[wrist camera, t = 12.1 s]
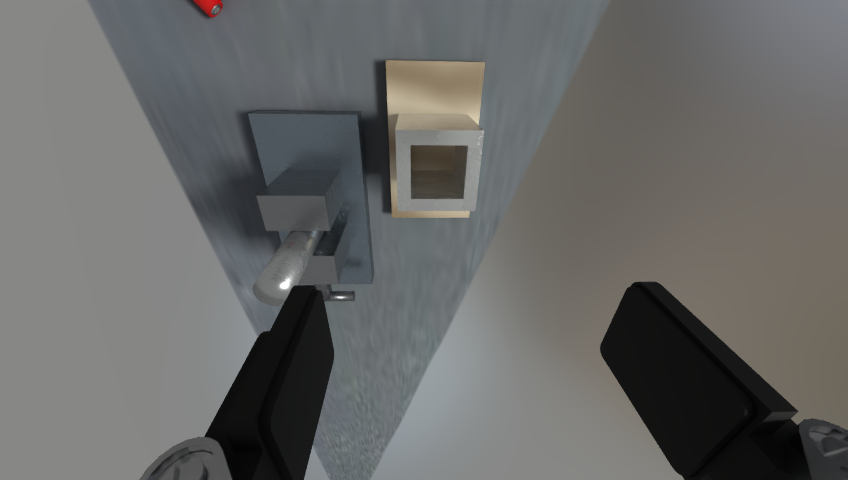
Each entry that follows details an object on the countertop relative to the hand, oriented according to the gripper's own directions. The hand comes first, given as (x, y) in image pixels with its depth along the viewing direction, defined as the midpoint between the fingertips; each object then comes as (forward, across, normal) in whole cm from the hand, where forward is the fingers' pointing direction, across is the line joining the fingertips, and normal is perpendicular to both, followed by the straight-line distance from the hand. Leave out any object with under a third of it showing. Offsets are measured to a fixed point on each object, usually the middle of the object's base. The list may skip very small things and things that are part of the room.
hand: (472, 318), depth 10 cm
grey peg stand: (+23, +11, +6) cm, 26 cm away
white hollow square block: (+22, 0, 0) cm, 22 cm away
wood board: (+23, 0, 0) cm, 23 cm away
